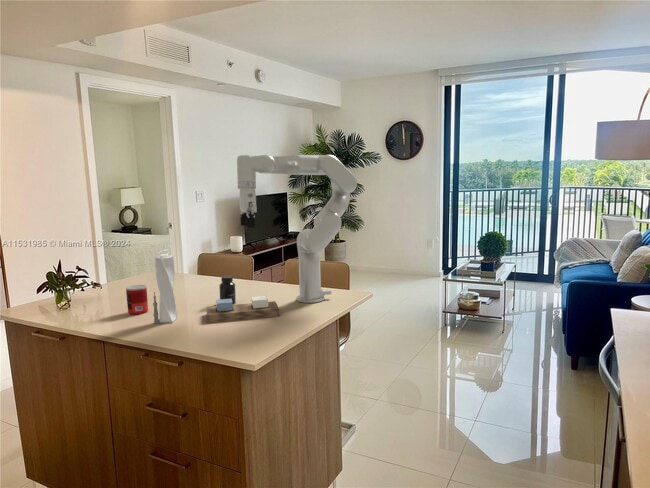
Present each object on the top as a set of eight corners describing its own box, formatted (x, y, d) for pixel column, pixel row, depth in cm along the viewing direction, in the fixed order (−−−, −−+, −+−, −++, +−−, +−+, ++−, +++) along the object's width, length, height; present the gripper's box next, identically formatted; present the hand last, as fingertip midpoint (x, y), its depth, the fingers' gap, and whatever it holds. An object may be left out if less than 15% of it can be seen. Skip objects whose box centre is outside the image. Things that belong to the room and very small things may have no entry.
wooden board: (275, 308, 201) (275, 301, 201) (279, 316, 190) (279, 308, 189) (207, 314, 195) (206, 307, 194) (207, 322, 183) (206, 315, 183)
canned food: (152, 310, 202) (150, 285, 201) (139, 315, 195) (137, 289, 193) (137, 309, 205) (135, 284, 203) (124, 314, 197) (121, 288, 196)
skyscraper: (161, 318, 192) (156, 249, 188) (181, 317, 192) (176, 248, 188) (153, 324, 183) (148, 252, 179) (174, 324, 183) (169, 252, 179)
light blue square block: (232, 306, 194) (231, 298, 193) (232, 310, 188) (232, 302, 188) (216, 307, 192) (216, 299, 192) (217, 311, 187) (216, 303, 186)
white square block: (266, 303, 197) (266, 295, 197) (268, 307, 191) (268, 299, 191) (251, 304, 196) (251, 297, 195) (253, 308, 190) (252, 300, 189)
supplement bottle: (232, 306, 206) (231, 278, 205) (217, 305, 208) (216, 278, 206) (238, 301, 213) (237, 275, 211) (224, 301, 214) (222, 275, 213)
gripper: (261, 185, 192) (262, 227, 195) (249, 185, 208) (250, 224, 210) (243, 185, 189) (244, 228, 191) (232, 185, 205) (233, 225, 207)
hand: (247, 226), depth 201 cm, fingers open, 9 cm apart
